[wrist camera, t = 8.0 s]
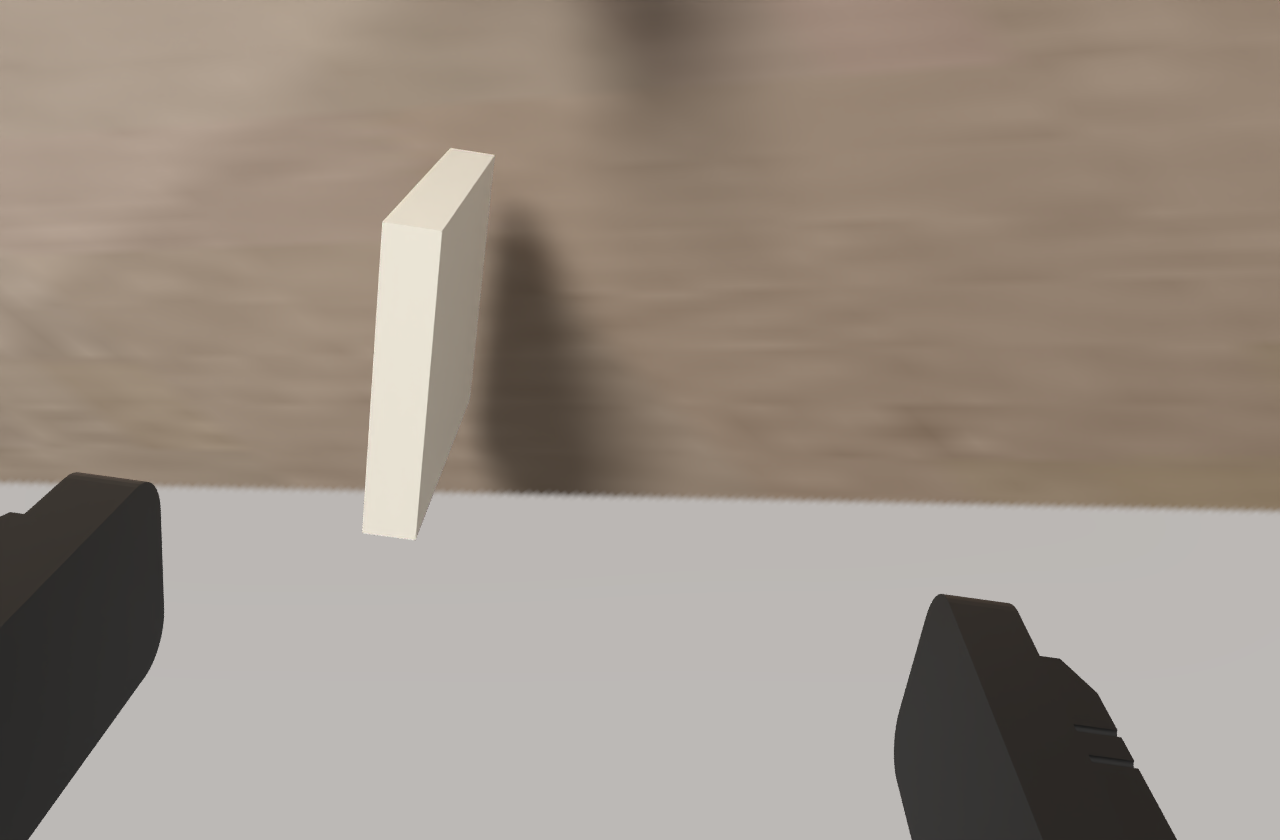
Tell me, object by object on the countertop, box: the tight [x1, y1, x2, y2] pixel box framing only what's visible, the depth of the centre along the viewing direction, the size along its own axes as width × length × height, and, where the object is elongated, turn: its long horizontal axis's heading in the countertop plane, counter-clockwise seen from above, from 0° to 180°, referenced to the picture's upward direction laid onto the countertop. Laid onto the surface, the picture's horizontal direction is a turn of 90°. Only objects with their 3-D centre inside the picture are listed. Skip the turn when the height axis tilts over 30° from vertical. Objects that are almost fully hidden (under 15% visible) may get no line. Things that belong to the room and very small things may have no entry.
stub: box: [362, 148, 495, 540], centre depth 23 cm, size 6×1×7 cm, turn 171°
